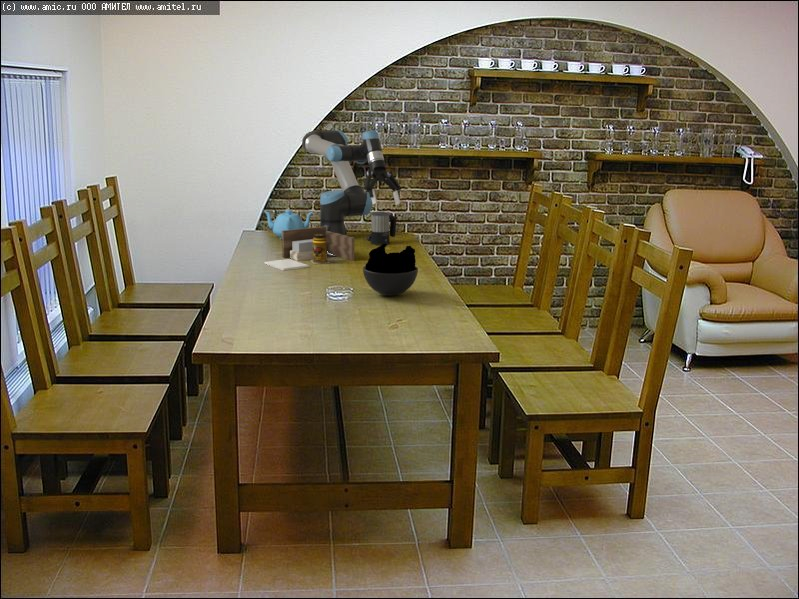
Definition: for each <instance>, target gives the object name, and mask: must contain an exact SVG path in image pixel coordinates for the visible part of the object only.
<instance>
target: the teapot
mask: <svg viewBox="0 0 799 599" xmlns="http://www.w3.org/2000/svg"><path fill="white" fill-rule="evenodd" d="M284 211H285V212H282V213H279V214H278V215H277V216H276V218H275V220H274V221H273V220H272V215H271V213H270V212H269V211H266V210H263V212H264V213H265V214H266V216H267V225H268V227H269V229H270V230H272V232H273V234H274V235H275V236H276V237H279V238H278V240H279V239H282V231H283V230H293V229H303V228H309V226H310V223H311V222H310V221H311V216H312V214H314V213H315V211H311V212H308V213H307V215H306V220H305V221H303V220H302V218H301V216H300V215H299V214H298V213H295V212H292V210H291V209H285V210H284Z"/></svg>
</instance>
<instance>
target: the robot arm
mask: <svg viewBox="0 0 799 599" xmlns="http://www.w3.org/2000/svg"><path fill="white" fill-rule="evenodd" d="M346 135H347V134H345V132H343V131H341V130H338V129H337V130H336V129H331V130H328V129H327V130H322V129H321V130H319V129H318V130H316V129H315V130H311V131H309V132H307V133H306V134H305V135H304V136H303V137H302V140H301V145H302V148H303V150H304V151H305V152H307V153H309V154H313V155H314V154H318V155H321V156H323V157H324V158H326V159H327V160H328V161H329V162H330V163H331V166H332V168H333V171H334V174H335V176H336V178H337V180H338V183H339V185H340V187H341V190H339V189H337V190H336V189H335V190H334V189H333V190H328V191H325V192H323V193H321V194H320V199H319V200H320V201H319V207H320V209H319V212H320V213H319V214H320V216H319V217H320V220H319V221H320V222H319V225H318V227H323V226H325V227H326V231H330V232H334V233H338V234H342V235H346V236H349V235H348V231H347V228H346V225H345V217H346V218H347V217H362V216H367V215H369V214H371V211H372V208H373V206H374V205H376V204H377V203H378V200H377V196H376V195H377V194H376V192H375V189H374V187H375V186H376V183H377V182H382V183H384V184H386V185H387V186H388V187H389V188H390V189H391V190H392V191H393V192H392V195H393V199H394V204H395V206H398V205H401V200H400V198H401V196H400V191H401V190H402V186H401V185H400V184H399V182H398V181H397V179H396V178H395V176H394V174H393V172H392V171H389V172H387V165H386V162H385V158H384V154H383V150H382V145H381V141H380V137H379V135H378V132H377V131H376V130H366V131H365V132H363V133H362V134H361V135H362V142H361V144H355V145H354V144H352V145H351V144H350V145H349V143H348V138H347V136H346ZM350 162H354V163H357V165H358V164H359V165H364V164H365V163H368V166H369V169H368V170H367V171H366V172H365V174H366V177H365V183H364V186H362V185H360V184H359V182H358V181H357V178H356V175H355V173H354V171H353V168H352V166H351V164H350Z"/></svg>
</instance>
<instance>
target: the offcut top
mask: <svg viewBox="0 0 799 599" xmlns="http://www.w3.org/2000/svg"><path fill="white" fill-rule="evenodd" d="M292 251H296V252H306V251H313V239H309V240H301V241H292Z"/></svg>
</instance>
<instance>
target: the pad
mask: <svg viewBox="0 0 799 599" xmlns="http://www.w3.org/2000/svg"><path fill="white" fill-rule="evenodd" d="M266 264H267V266H269V265H270V266H269V267H272V268H274V269H275V268H276V269H278V270H281V271H290V270H297V269H298V270H299V269H304V268H309V267H310V266H309V264H305V263H303V262H301V261H296V260H293V259H290V258H283V259H277V260H270V261H264V265H266Z"/></svg>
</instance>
